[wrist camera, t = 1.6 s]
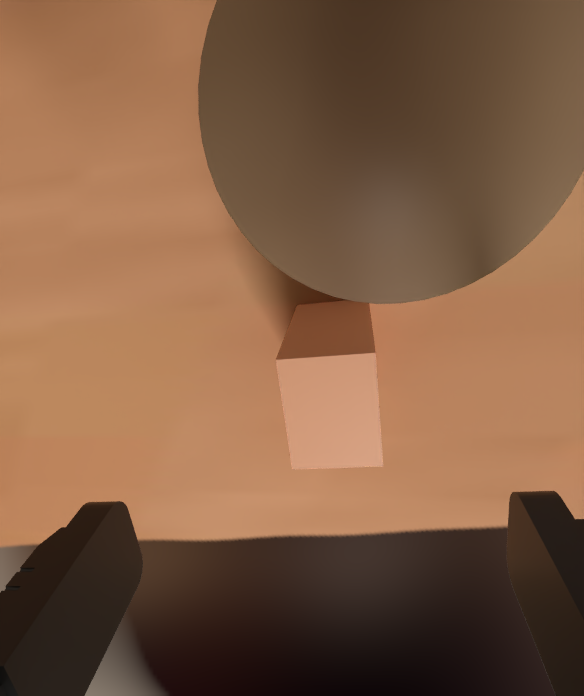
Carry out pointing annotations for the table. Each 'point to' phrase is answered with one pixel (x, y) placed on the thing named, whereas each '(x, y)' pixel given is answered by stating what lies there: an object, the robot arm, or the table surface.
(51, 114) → the table surface
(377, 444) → the tan rectangular block
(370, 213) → the bobbin
